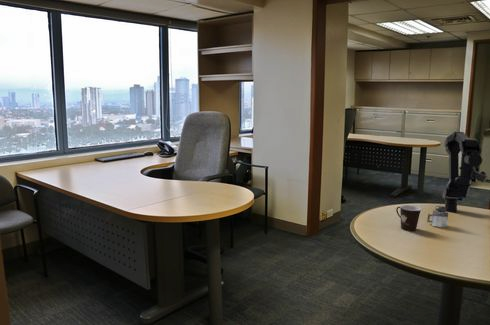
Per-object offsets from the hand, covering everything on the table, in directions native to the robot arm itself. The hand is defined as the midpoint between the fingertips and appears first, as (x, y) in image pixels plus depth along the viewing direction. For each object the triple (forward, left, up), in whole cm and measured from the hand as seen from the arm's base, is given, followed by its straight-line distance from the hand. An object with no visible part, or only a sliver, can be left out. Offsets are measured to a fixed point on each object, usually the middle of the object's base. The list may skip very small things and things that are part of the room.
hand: (464, 197), depth 191 cm
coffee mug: (+23, -23, -12) cm, 35 cm away
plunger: (+12, -10, -11) cm, 19 cm away
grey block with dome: (+12, -10, -12) cm, 20 cm away
